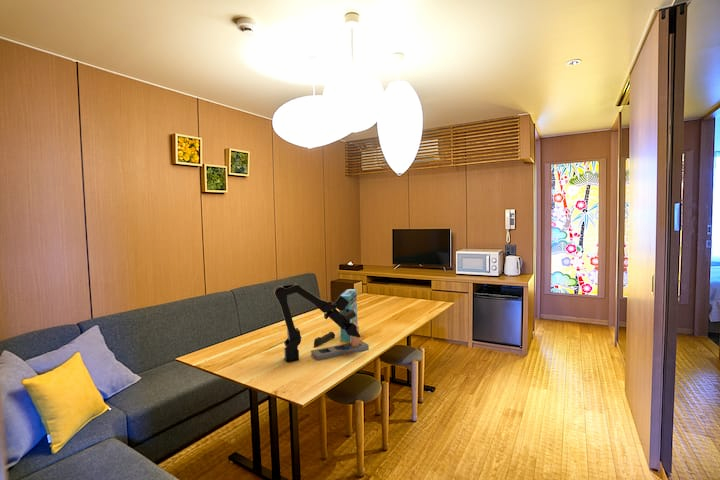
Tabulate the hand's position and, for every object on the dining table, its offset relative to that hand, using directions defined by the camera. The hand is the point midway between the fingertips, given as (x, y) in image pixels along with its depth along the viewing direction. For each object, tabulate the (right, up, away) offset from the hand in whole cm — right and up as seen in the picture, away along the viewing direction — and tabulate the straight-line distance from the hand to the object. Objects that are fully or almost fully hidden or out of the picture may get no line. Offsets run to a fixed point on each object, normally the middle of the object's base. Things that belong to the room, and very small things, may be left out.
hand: (357, 334), depth 208 cm
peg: (-1, -8, 0) cm, 8 cm away
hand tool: (-19, -8, +13) cm, 24 cm away
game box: (-5, -7, +23) cm, 24 cm away
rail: (-9, -9, -4) cm, 13 cm away
